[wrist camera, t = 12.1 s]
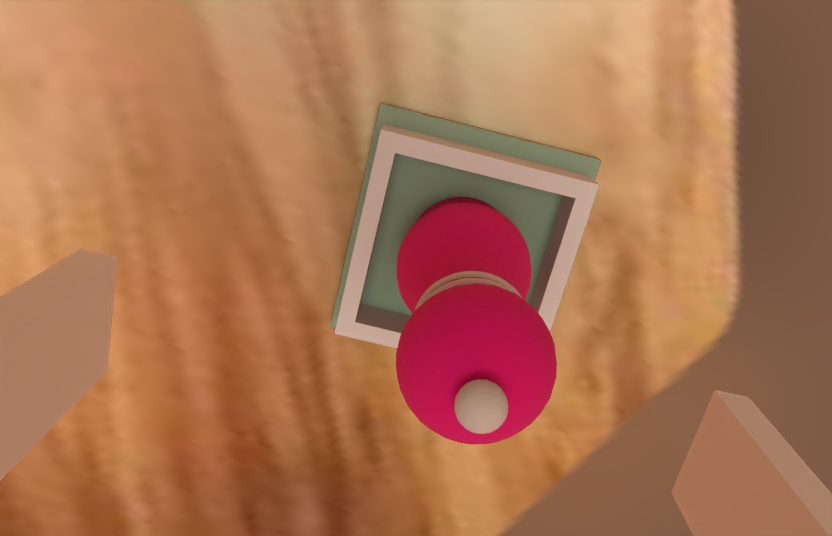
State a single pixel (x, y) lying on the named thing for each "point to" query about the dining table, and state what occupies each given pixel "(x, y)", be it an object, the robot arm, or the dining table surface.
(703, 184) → the dining table surface
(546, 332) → the pepper mill
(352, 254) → the deck socket
